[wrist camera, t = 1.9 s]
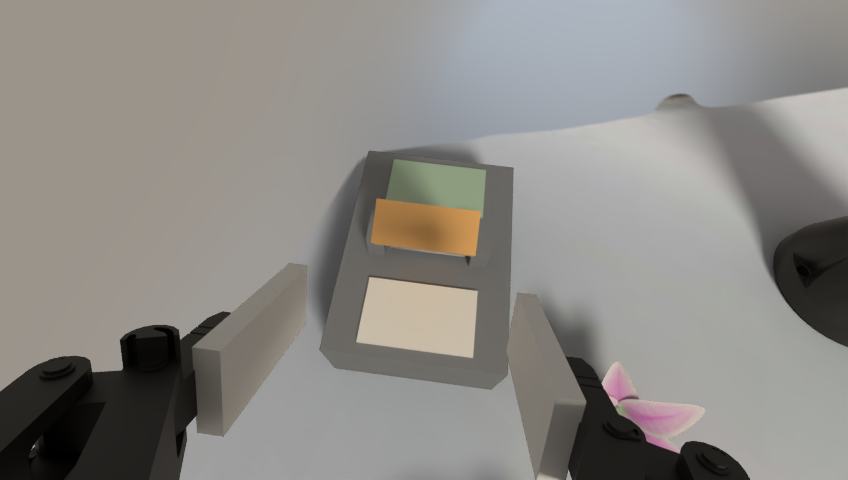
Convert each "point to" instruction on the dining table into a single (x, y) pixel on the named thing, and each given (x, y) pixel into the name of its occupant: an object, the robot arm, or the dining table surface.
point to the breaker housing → (425, 280)
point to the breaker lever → (426, 228)
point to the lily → (649, 410)
